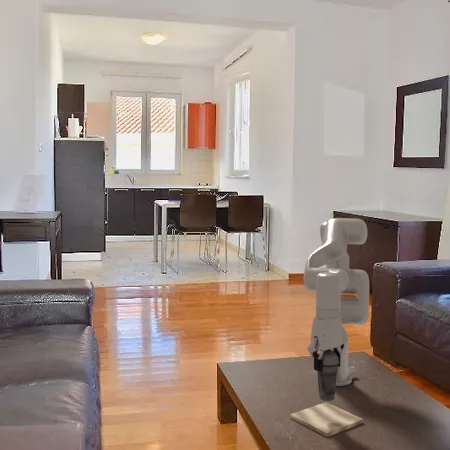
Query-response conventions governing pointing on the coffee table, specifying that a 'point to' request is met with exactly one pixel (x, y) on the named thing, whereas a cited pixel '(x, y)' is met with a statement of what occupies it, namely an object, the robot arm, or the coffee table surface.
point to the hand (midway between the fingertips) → (327, 367)
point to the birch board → (326, 419)
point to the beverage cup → (328, 375)
